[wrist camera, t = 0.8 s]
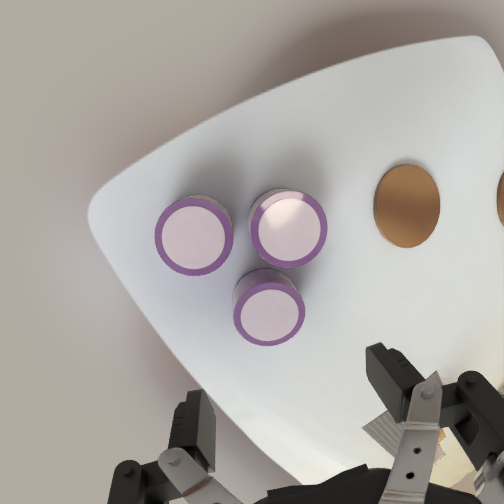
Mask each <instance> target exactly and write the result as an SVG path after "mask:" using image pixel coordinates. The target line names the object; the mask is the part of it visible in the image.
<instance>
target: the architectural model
mask: <svg viewBox="0 0 504 504" xmlns="http://www.w3.org/2000/svg"><path fill="white" fill-rule="evenodd" d="M426 381H434V382H436V383H438V384H439V385H440V386H443V385H442V382H441V380H440V377H439V375H438V373H437V371H436V372H435V373H434V374H433V375H431V376H430V377H429V378H428V379H427V380H426ZM405 424H406V423H405V422H404V421H403V422H401V423H399V424H396V422H395V421H394V419H393V418H392V416H391V414H390V413H389V411H386V412H385V413H383V414H382V415H381V416H379V417H378V418H376V419H375V420H373V421H372V422H370V423H369V424H367V425H366V426H364V427H363V429H364V430H365V431H366V432H367V433H368V434H369V435H370V436H371V437H372V438H373V439H375V440H376V441H377V442H378V443H379V444H380V445H381V446H382V447H383V448H385V449H386V450H387V451H388V452H389V453H390V454H391V455H392V456H394V457H395V458H396V455H397V451H398V448H399V445H400V441H401V438H402V434H403V430H404V426H405ZM445 437H446V436H445V433H444V431H443V429H442V428H440V430H439V436H438V442H437V447H436V453H435V458H434V462H433V464H434V465H435V466H436V467H437V464H436V463H435V462H437V461H438V460H439V459H440V460H441V458H442V457H443V456H445V455H446V454H445V453H444V451H443V450H442V448H441V447H440V445H439V442H440V441H441V440H442V439H444V438H445Z"/></svg>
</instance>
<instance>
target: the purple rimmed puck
mask: <svg viewBox="0 0 504 504" xmlns="http://www.w3.org/2000/svg"><path fill="white" fill-rule="evenodd" d="M155 244H156V248H157V251H158V253H159V255H160V257H161V258H162V260H163V261H164V262H165V263H166V264H167V265H168V266H169V267H170V268H171V269H173V270H174V271H176V272H178V273H181V274H184V275H188V276H201V275H205V274H208V273H211V272H213V271H215V270H216V269H218V268H219V267H220V266H221V265H222V264H223V263H224V262H225V261H226V259H227V258H228V256H229V254H230V251H231V249H232V244H233V228H232V221H231V218H230V216H229V213H228V212H227V210H226V209H225V208H224V206H223V205H222V204H220V203H219V202H218V201H216V200H215V199H213V198H211V197H208V196H203V195H193V196H189V197H186V198H183V199H181V200H179V201H177V202H175V203H173V204H171V205H170V206H169V207H168V208H167V209H165V211H164V212H163V213H162V214H161V216H160V218H159V219H158V222H157V225H156V228H155Z"/></svg>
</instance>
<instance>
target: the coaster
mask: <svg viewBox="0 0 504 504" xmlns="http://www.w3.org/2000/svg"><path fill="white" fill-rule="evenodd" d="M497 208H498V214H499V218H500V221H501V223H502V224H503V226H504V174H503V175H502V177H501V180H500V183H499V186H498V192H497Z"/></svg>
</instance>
